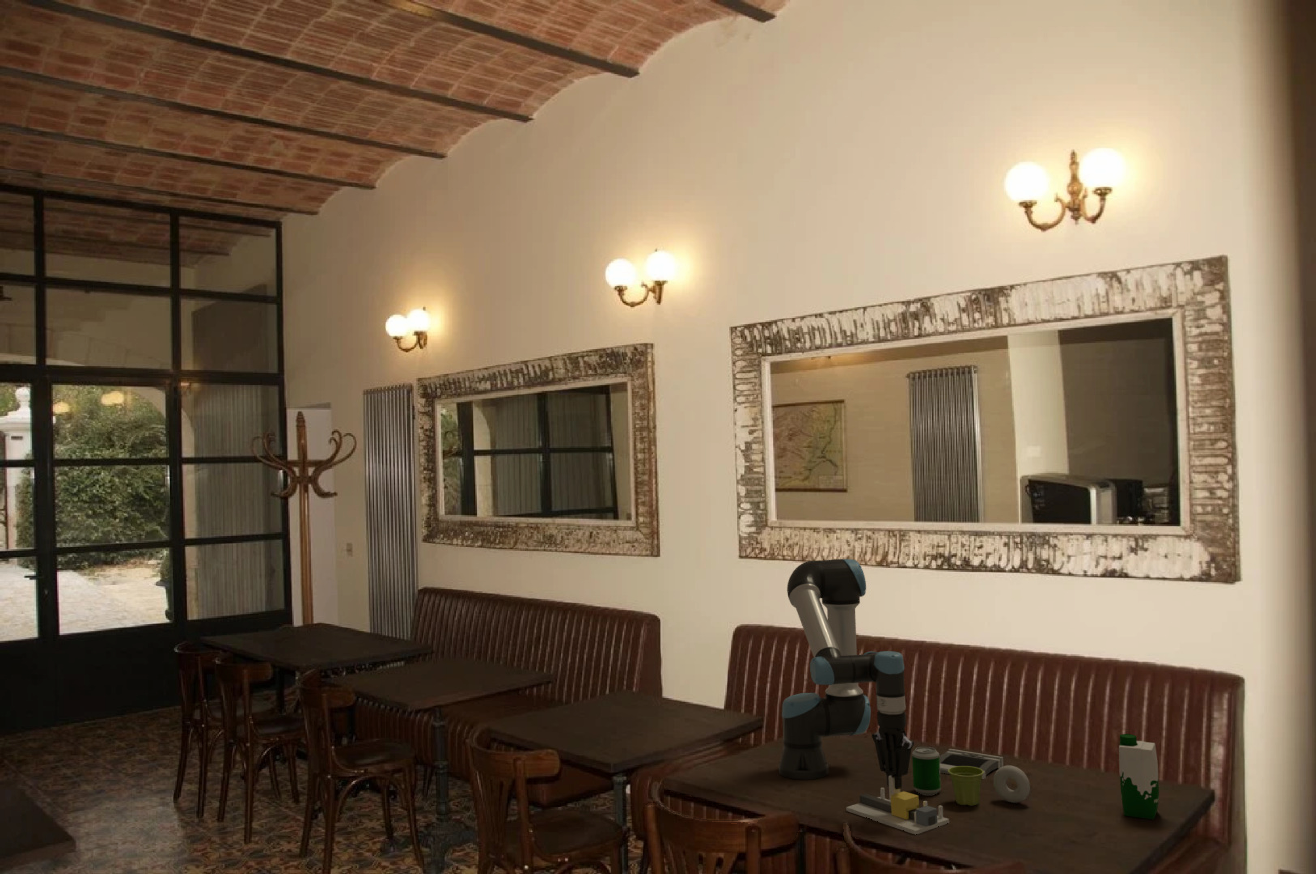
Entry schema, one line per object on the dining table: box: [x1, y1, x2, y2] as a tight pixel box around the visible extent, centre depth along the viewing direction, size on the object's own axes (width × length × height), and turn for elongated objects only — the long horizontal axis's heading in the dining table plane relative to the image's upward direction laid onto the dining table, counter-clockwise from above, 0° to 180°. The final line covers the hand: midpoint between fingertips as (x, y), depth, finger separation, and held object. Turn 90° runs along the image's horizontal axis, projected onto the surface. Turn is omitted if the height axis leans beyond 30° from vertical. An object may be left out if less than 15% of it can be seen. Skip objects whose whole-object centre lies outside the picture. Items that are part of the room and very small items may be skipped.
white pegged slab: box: [845, 787, 950, 836], centre depth 270 cm, size 24×13×5 cm, turn 35°
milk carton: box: [1118, 733, 1160, 820], centre depth 266 cm, size 9×9×20 cm
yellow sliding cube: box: [891, 790, 920, 819], centre depth 268 cm, size 5×5×5 cm
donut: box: [992, 765, 1031, 804], centre depth 278 cm, size 10×3×10 cm, turn 49°
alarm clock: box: [939, 748, 1004, 780], centre depth 310 cm, size 17×5×16 cm
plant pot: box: [948, 766, 984, 807], centre depth 280 cm, size 9×9×9 cm
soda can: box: [911, 746, 942, 796], centre depth 290 cm, size 8×8×12 cm
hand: (895, 800), depth 270 cm, fingers closed
